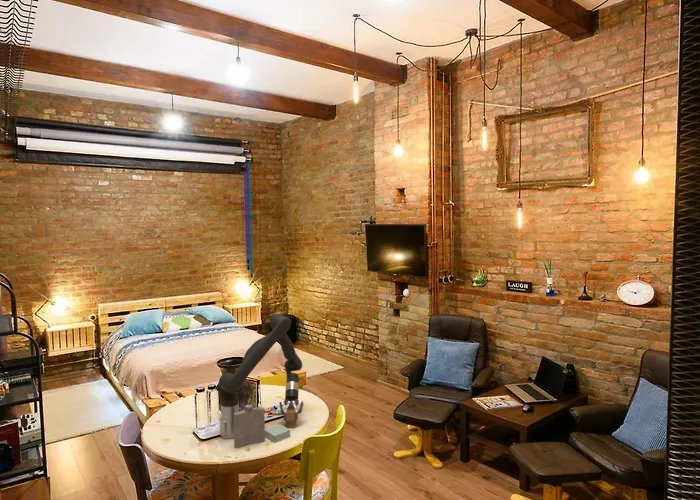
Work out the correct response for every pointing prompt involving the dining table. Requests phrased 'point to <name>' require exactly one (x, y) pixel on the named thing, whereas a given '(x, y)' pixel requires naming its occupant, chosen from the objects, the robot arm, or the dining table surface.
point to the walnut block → (290, 418)
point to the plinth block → (277, 433)
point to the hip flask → (249, 426)
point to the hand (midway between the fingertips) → (290, 420)
